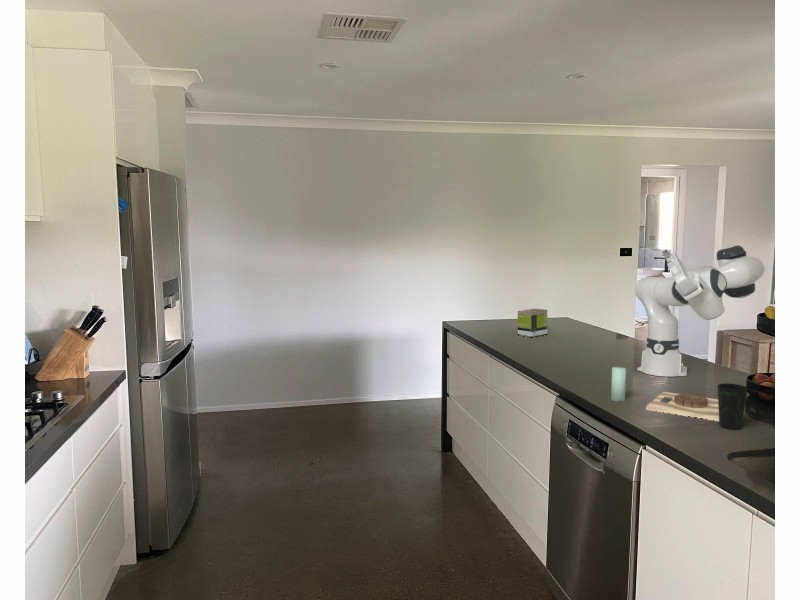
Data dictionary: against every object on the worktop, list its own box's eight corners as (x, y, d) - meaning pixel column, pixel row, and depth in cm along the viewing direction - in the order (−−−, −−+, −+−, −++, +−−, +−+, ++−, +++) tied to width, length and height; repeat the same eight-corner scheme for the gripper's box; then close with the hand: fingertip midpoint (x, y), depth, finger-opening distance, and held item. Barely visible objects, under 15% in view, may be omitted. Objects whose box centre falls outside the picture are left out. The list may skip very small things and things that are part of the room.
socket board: (663, 395, 209) (663, 386, 209) (734, 405, 196) (734, 395, 195) (646, 409, 191) (646, 400, 191) (722, 422, 178) (723, 411, 178)
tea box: (533, 333, 344) (533, 308, 343) (547, 335, 337) (548, 309, 335) (516, 336, 335) (517, 310, 333) (531, 338, 327) (531, 311, 325)
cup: (748, 426, 174) (750, 386, 173) (741, 432, 168) (744, 391, 167) (719, 421, 179) (721, 382, 178) (712, 426, 174) (714, 386, 172)
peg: (613, 397, 207) (614, 366, 206) (626, 399, 204) (627, 367, 203) (609, 400, 203) (610, 368, 202) (622, 402, 200) (623, 370, 199)
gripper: (691, 266, 215) (669, 239, 212) (704, 293, 198) (680, 264, 195) (675, 275, 218) (653, 249, 215) (687, 303, 201) (663, 274, 198)
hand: (666, 256), depth 205 cm, fingers open, 8 cm apart
